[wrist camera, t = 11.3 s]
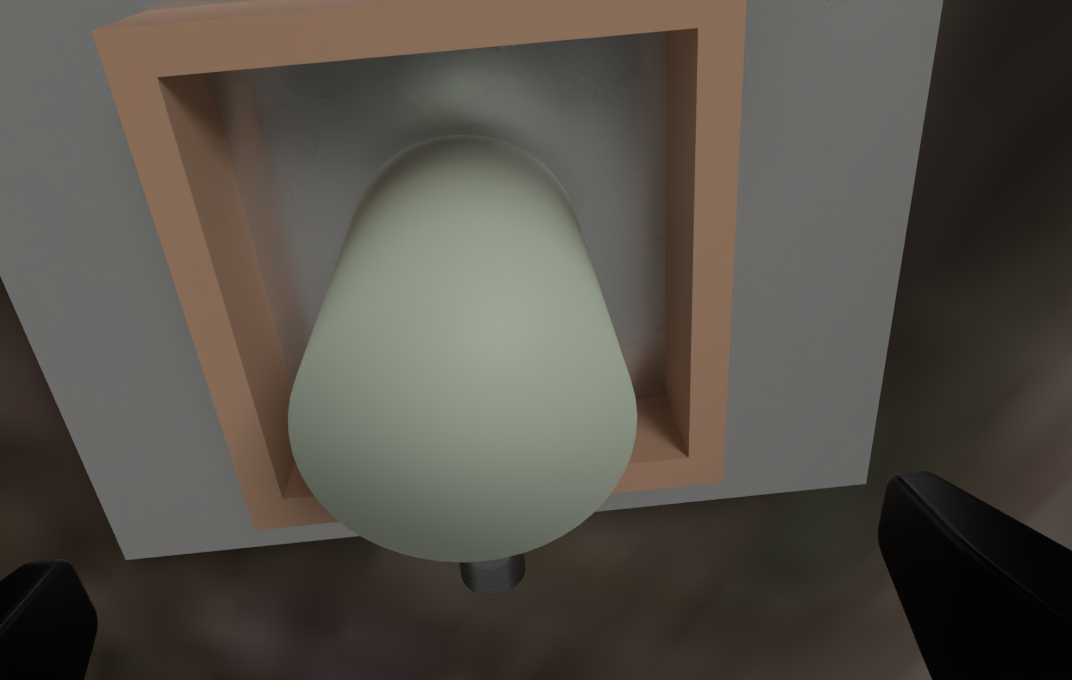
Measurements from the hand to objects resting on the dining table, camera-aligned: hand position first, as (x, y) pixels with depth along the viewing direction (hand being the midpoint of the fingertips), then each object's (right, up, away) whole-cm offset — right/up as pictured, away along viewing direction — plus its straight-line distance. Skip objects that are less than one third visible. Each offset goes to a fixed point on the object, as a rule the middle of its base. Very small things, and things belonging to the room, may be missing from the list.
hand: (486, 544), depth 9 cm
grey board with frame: (-1, +6, +11) cm, 13 cm away
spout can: (-1, +4, +9) cm, 10 cm away
